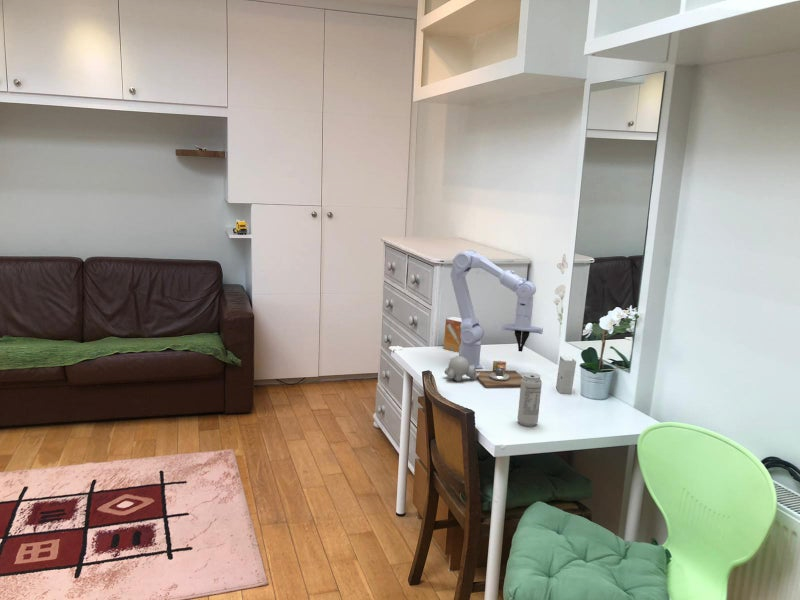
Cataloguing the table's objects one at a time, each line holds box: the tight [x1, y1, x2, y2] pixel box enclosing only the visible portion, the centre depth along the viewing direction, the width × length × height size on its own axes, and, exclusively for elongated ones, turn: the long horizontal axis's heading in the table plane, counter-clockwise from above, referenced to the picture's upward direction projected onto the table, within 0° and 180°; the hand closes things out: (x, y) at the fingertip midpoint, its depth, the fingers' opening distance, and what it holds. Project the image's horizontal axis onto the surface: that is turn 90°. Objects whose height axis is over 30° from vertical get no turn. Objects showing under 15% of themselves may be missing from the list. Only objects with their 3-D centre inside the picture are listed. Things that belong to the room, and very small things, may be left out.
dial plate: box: [489, 360, 509, 380], centre depth 243 cm, size 12×7×4 cm, turn 167°
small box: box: [443, 316, 462, 353], centre depth 280 cm, size 8×6×13 cm
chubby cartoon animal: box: [444, 355, 479, 382], centre depth 240 cm, size 7×12×8 cm, turn 98°
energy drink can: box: [517, 372, 543, 427], centre depth 202 cm, size 6×6×15 cm
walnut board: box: [475, 360, 524, 389], centre depth 242 cm, size 16×17×5 cm
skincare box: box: [555, 355, 577, 395], centre depth 234 cm, size 6×4×12 cm
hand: (520, 350), depth 249 cm, fingers closed
